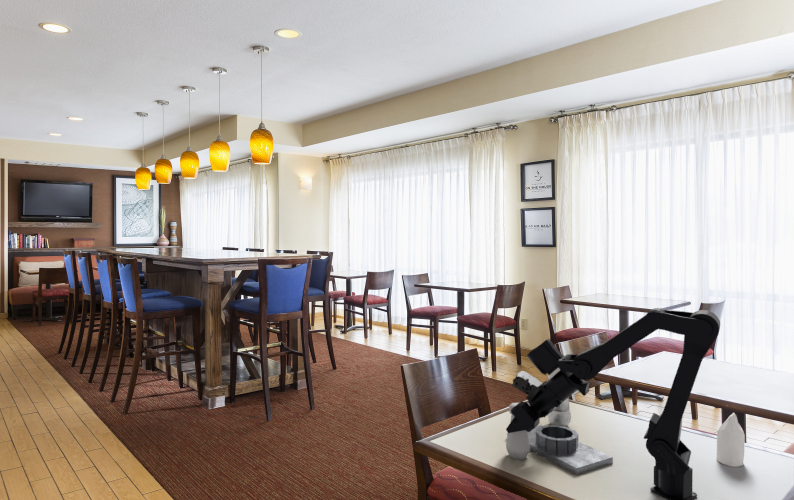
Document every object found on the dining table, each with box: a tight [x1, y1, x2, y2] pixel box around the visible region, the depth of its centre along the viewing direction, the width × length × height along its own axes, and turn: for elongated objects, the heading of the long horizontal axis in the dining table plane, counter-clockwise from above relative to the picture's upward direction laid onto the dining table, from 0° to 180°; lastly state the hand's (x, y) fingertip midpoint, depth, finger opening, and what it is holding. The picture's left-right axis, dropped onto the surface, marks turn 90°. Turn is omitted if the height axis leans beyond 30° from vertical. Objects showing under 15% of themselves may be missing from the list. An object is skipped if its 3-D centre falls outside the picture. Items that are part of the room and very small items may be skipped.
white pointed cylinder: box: [716, 412, 746, 468], centre depth 122 cm, size 6×12×6 cm
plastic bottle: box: [546, 354, 572, 427], centre depth 146 cm, size 6×7×20 cm
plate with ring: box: [506, 424, 614, 475], centre depth 130 cm, size 24×12×4 cm, turn 28°
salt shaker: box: [505, 402, 530, 461], centre depth 126 cm, size 6×6×13 cm
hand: (512, 426), depth 127 cm, fingers open, 6 cm apart
